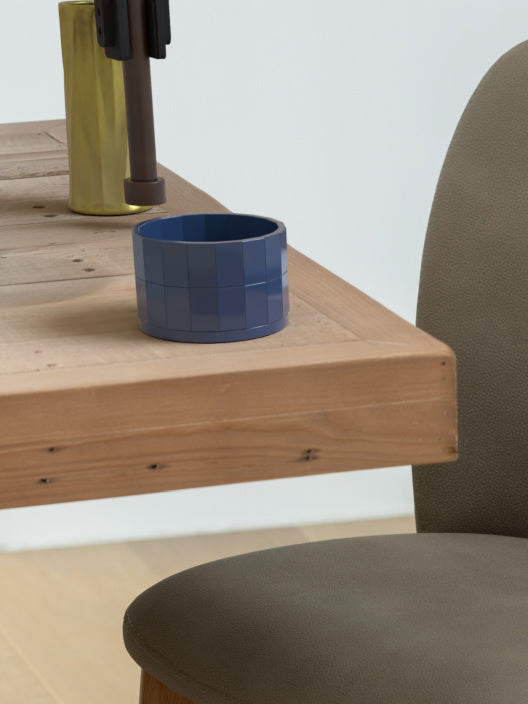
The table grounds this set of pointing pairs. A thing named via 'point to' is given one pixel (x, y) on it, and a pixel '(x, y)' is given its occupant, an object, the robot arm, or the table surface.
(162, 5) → the robot arm
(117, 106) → the vase
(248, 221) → the bowl
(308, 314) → the table surface
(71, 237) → the table surface
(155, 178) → the stir stick
